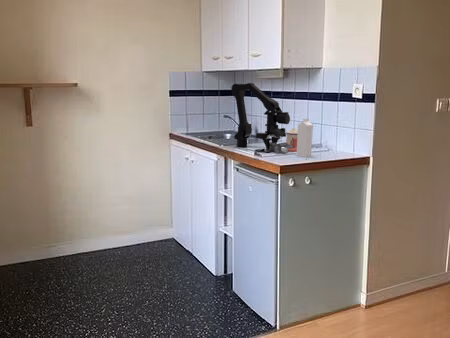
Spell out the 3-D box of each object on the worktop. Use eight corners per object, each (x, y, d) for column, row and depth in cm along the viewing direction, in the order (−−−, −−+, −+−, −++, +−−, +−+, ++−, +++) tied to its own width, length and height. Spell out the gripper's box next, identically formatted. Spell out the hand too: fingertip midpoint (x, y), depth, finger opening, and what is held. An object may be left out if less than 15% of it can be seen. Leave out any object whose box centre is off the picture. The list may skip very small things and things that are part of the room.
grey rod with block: (265, 150, 273) (266, 142, 272) (270, 149, 275) (271, 141, 274) (283, 154, 261) (283, 146, 260) (288, 153, 263) (288, 145, 262)
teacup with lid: (290, 147, 291) (291, 129, 288) (282, 145, 299) (283, 127, 296) (306, 146, 296) (307, 128, 293) (298, 144, 304) (299, 126, 301)
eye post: (274, 153, 264) (274, 144, 263) (284, 152, 269) (285, 143, 267) (277, 154, 262) (277, 144, 261) (287, 152, 267) (288, 143, 266)
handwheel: (292, 152, 267) (293, 140, 266) (279, 150, 273) (280, 139, 271) (303, 149, 276) (303, 138, 274) (290, 148, 281) (290, 137, 280)
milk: (311, 158, 259) (313, 118, 254) (305, 159, 254) (308, 119, 249) (301, 156, 262) (304, 117, 258) (295, 158, 258) (298, 118, 253)
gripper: (268, 125, 257) (267, 153, 261) (293, 123, 268) (291, 150, 271) (255, 123, 266) (254, 150, 270) (280, 121, 277) (279, 147, 280)
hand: (270, 149), depth 272 cm, fingers closed on grey rod with block, 4 cm apart
